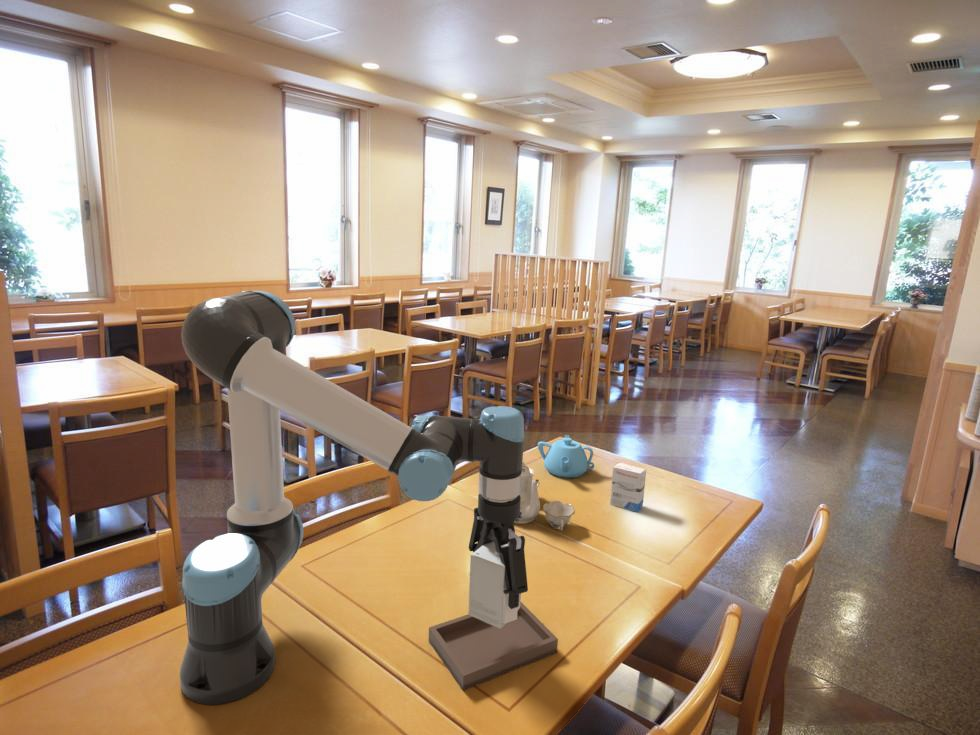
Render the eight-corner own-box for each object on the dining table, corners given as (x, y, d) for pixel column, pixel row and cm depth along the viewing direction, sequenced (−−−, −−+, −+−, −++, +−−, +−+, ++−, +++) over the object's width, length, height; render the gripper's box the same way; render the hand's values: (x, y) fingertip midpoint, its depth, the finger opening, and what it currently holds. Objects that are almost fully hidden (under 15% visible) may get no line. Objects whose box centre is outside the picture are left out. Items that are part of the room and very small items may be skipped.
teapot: (529, 468, 195) (531, 436, 192) (565, 457, 206) (567, 427, 203) (563, 485, 184) (566, 451, 181) (599, 472, 194) (602, 440, 192)
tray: (462, 690, 101) (463, 675, 100) (428, 641, 113) (428, 627, 112) (556, 652, 111) (557, 638, 110) (516, 610, 123) (517, 597, 122)
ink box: (643, 506, 172) (647, 468, 169) (637, 512, 168) (641, 474, 165) (615, 498, 176) (619, 461, 173) (609, 504, 172) (612, 466, 169)
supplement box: (501, 630, 105) (504, 567, 102) (467, 615, 109) (469, 553, 106) (521, 609, 111) (525, 548, 108) (488, 595, 115) (490, 536, 112)
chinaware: (583, 535, 158) (593, 476, 155) (535, 545, 148) (544, 483, 145) (521, 494, 180) (528, 442, 177) (475, 501, 170) (482, 446, 168)
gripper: (554, 515, 97) (546, 633, 102) (486, 467, 116) (482, 569, 121) (515, 526, 93) (509, 647, 98) (452, 474, 112) (450, 579, 117)
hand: (494, 604), depth 110 cm, fingers closed on supplement box, 9 cm apart
